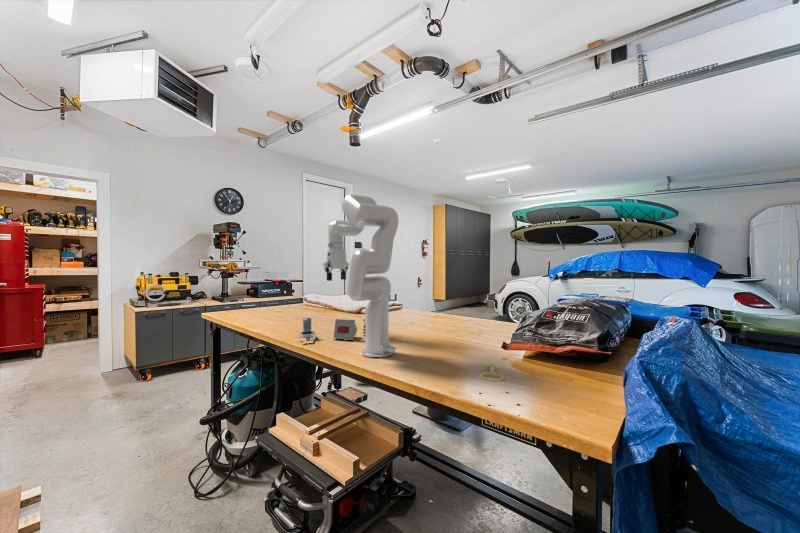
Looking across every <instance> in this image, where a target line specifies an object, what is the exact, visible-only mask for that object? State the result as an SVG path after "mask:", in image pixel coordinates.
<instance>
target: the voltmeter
mask: <svg viewBox="0 0 800 533" xmlns="http://www.w3.org/2000/svg"><path fill="white" fill-rule="evenodd" d="M362 320H363V323H364V325H363V332H362V334H364V335H363V337H364V338H365V318H364V319H362ZM357 331H358V327H357V325H356V320H355V319H348V318H347V319H346V318H345V319H343V318H336V319H335V323H334V332H333V339H334V338H336V339H345V340H344V341H347V340H353V341H354V337H355V336H356V335H357V333H358V332H357ZM336 339H335V340H336Z"/></svg>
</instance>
